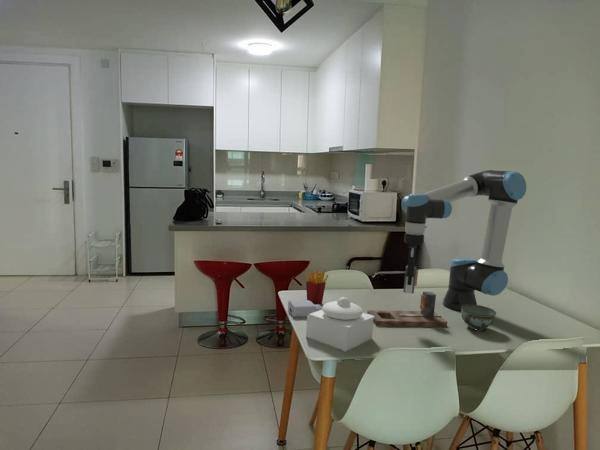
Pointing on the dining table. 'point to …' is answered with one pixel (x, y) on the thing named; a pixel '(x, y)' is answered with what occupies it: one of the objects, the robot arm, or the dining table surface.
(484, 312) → the bowl
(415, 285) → the grey orange block
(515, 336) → the dining table surface
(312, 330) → the white lidded jar
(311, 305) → the charger
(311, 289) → the french fries
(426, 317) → the brown wooden stand
